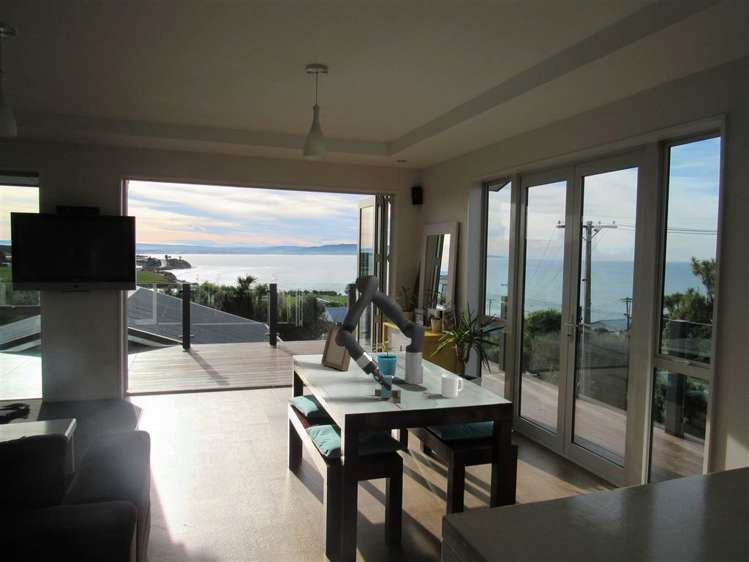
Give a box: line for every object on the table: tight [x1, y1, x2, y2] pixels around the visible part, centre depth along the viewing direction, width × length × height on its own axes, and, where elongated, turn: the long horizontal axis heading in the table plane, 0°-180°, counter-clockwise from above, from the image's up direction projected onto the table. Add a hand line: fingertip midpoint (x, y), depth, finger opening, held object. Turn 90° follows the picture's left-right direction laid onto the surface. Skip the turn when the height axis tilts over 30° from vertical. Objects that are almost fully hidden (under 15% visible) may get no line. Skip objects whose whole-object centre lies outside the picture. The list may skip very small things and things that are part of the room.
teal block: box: [380, 374, 393, 398], centre depth 270 cm, size 5×5×10 cm
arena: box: [374, 388, 402, 404], centre depth 270 cm, size 13×13×3 cm
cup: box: [440, 374, 464, 399], centre depth 279 cm, size 8×12×10 cm
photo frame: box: [320, 324, 357, 372], centre depth 338 cm, size 15×22×25 cm
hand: (390, 388), depth 270 cm, fingers closed on teal block, 5 cm apart
